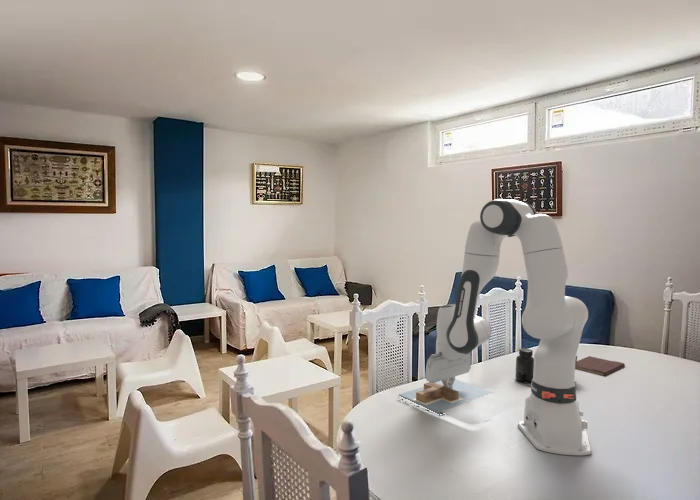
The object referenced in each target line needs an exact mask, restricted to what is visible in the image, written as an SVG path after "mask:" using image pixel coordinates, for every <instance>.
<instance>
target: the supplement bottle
mask: <svg viewBox="0 0 700 500" xmlns="http://www.w3.org/2000/svg"><path fill="white" fill-rule="evenodd" d="M533 371H534V354H533V349H530V348H522V347H521V348H519V349H518V355H517V356H516V358H515V380H516V381H517V382H519V383H523V384H531V382H532V379H533Z"/></svg>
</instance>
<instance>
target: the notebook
mask: <svg viewBox="0 0 700 500" xmlns="http://www.w3.org/2000/svg"><path fill="white" fill-rule="evenodd" d="M625 365H626V364H625V363H624V362H620V361H616V360H607V359H605V358H600V357H599V358H598V357H595V356H590V355H589V356H586V357H584V358H581V359H577V361H576V367H575V370H579V371H582V372H588V373H590V374H591V373H592V374H595V375H600V376H602V377H603V376H604V377H607V376H608V375H610V374H613V373H615V372H616V371H619V370H621V369H623V368H624V367H626V366H625Z"/></svg>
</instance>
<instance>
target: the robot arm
mask: <svg viewBox="0 0 700 500" xmlns="http://www.w3.org/2000/svg"><path fill="white" fill-rule="evenodd" d="M479 218H480V219H478V220H476V221H473V222H472V223H471V224H470V226H469V228H468V229H469V230H468V233H467V236H466V242H465V246H464V255H463V264H462V269H461V270H462V271H461V276H460V280H459V285H458V290H457V296H456V300H455V301H456V302H455V303H449V304H448V303H447V304H444V305H442V306H440V307H439V308H438V310H437V317H436V332H437V334H436V335H437V336H436V339H435V341H436V342H435V353H434V354H431V355H430V356H429V357H428V359H427V361H426V367H425V375H424V378H425V380H426V381H427V382H432V383H438V382H441V381H442V383H443V386H445V387H448V388H451V389H453V383H454V381H455V379H456V377H457V376H460V375H464V374H467V373H470V371H471V369H472V368H471V367H472V358H471V357H472V356H471V353H472V351H474V350H475V349H476V348H478V347H480V346H481V345H483V344H484V343H486V342H487V341H488V340H489V339H490V338H491V335H492V328H491V327H492V326H491V324H490V323H489V321H488V320H487V319H486V318H484V317H483V316H479V315H476V311H477V310H476V309H477V305H478V299H479V296H480V293H481V292H482V291H483V289H484V287H486V285H487V284H488V283H489V282H490V281H491V280H492V279H493V278H494V277H495V276H496V273H497V270H498V268H499V263H500V256H501V255H500V254H501V245H502V242H503V240H504V239H505V238H506V237H508V238H513V237H517V238H518V240H519V242H520V244H521V248H522V249H521V250H522V254H523V259H524V265H525V271H526V279H527V295H526V305H525V308H524V310H523V313H522V315H521V324H522V327H523V330H524V331H525V333H527V335H529V336H530V337H532V338H534V339H538V340H539V343H538V346H537V348H536V350H535V351H534V354H533V358H534V371H533V379H532V382H531V383H530V387H531V388H530V392H531V393H530V395H529V396H527V397H526V398H525V399H524V400H525V403H524V411H523V413H524V414H523V420H521V421H518V423H517V427H518V428H519V430H521V432H522V433H523V435H525V437H526V438H527V439H528V440H529V442H530V443H531V444H532V445H533V447H535V449H537V450H540V451H543V452H546V453H551V454H557V455H565V456H587V455H588V456H589V455H591V454H592V449H591V444H590V441H589V436H588V432H587V430H588V421H587V420H582V419H581V417H583V416H584V412H583V411H582V410H580V407H579V406H580V402H579V401H577V387H576V384H575V378H576V376H575V375H576V374H575V373H576V369H575V361H576V355H578V349H579V347H580V343H581V339H582V335H583V330H584V327H585V325H586V323H587V322H588V320H589V310H588V307H587V306H586V304H585V303H584V302H583V301H582V300H581V299H579V298H577V297H574V296H573V297H572V296H567V295H566V292H565V291H566V284H567V279H568V277H569V270H568V266H567V260H566V255H565V250H564V246H563V242H562V239H561V235H560V232H559V229H558V226H557V225H556V222H555V220H554V218H553V217H551V216H550V215H547V214H543V213H538V212H537V211H536V209H535V208H534V207H533V206H532V205H531V204H529V203H528V202H526V201H519V200H517V199H512V198H511V199H509V198H507V199H505V198H504V199H503V198H496V199H493V200H490V201H488V202H487V203H485V204H484V205H483V207H481V211H480V213H479ZM447 381H448V382H447Z"/></svg>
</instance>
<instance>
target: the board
mask: <svg viewBox="0 0 700 500" xmlns="http://www.w3.org/2000/svg"><path fill="white" fill-rule="evenodd" d="M447 382H448V381H447ZM436 383H437V384H440V385H443V383H442V381H439V382H436ZM422 390H424V386H422V387H419V388H415V389H412V390H410V391H406V392H403V393H399V394H398V397H399V396H401V397H403V398H405V399H408V400H410V401H412V402H414V403H416V404H418V405H421V406H423V407H425V408H427V409H429V410H431V411H433V412H435V413H437V414H439V415H440V414H443V413H444V411H445V410H446V411H447V410H448V409H451V408H454V407H456V406H460V405H462V404H464V403H467V402H470V401H473V400H476V399H479V398H480V397H481V398H482V397H483V396H485V395H489V394H491V393H493V391H491V390H488V389H485V388H482V387H480V386H477V385H473V384H471V383H469V382H465V381H462V380H460V379H456V378H455V381H454V383H453V390H456V391H459V397H458V399H456V400H453V401H448V400H446V399H443V398H439V399H436V400H433V401H430V402H427V403H423V402H421V401H418V400H416V392H419V391H422Z"/></svg>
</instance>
